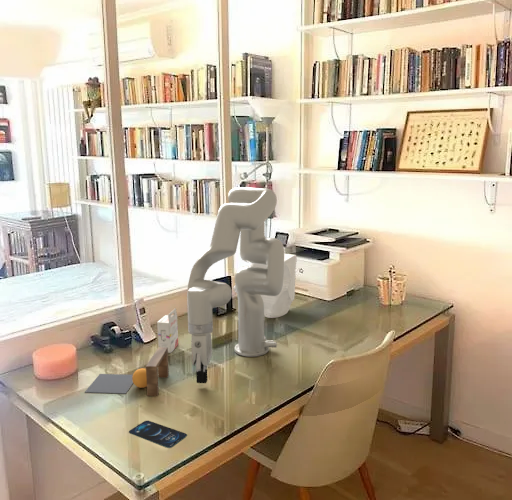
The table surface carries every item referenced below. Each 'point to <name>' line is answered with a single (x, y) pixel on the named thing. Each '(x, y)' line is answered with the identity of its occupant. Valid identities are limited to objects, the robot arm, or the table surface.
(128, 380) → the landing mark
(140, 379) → the ball
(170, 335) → the ink cartridge box
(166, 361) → the bridge
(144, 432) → the smartphone
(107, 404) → the table surface
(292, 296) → the white curved block
